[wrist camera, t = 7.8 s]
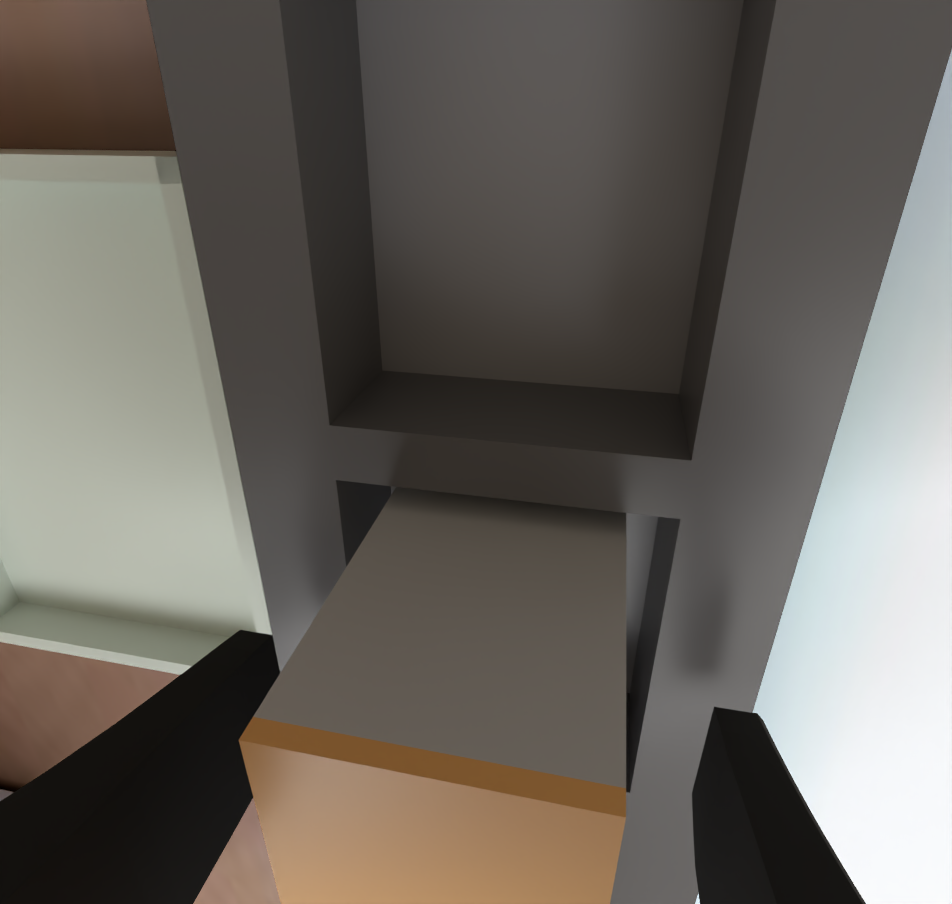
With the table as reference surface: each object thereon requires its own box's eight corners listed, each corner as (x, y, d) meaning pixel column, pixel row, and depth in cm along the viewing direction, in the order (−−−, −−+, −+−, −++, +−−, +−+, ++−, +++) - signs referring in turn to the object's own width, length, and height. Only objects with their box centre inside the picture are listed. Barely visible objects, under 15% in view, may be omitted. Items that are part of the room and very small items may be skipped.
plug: (431, 629, 15) (299, 974, 9) (423, 443, 13) (238, 740, 7) (601, 656, 14) (582, 1050, 8) (626, 463, 12) (626, 818, 6)
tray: (27, 599, 19) (-22, 638, 17) (-167, 146, 13) (-263, 150, 12) (311, 646, 17) (284, 693, 16) (231, 151, 11) (176, 156, 10)
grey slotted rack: (370, 833, 21) (332, 936, 18) (244, -150, 9) (95, -253, 7) (655, 895, 19) (660, 1019, 16) (923, -205, 8) (1077, -371, 5)
